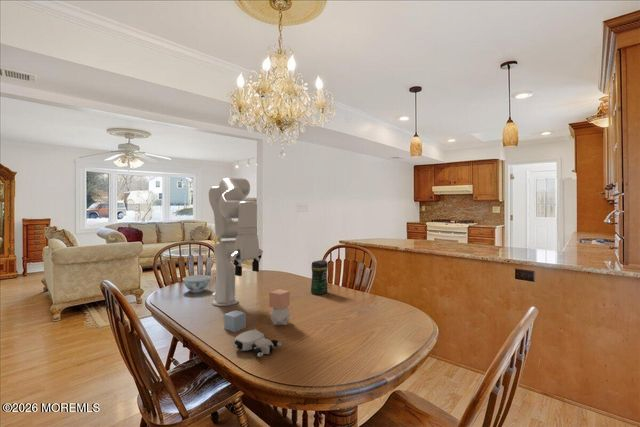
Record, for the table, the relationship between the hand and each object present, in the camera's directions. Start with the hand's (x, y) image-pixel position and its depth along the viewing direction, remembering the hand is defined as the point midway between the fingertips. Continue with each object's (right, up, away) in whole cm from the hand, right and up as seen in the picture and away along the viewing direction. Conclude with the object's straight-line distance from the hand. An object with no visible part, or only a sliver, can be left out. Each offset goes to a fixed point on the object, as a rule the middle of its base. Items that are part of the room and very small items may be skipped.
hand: (247, 273), depth 130 cm
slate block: (-5, -22, -1) cm, 23 cm away
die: (+13, -22, +4) cm, 26 cm away
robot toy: (+8, -23, -20) cm, 31 cm away
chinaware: (-42, -21, +54) cm, 71 cm away
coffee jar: (+29, -21, +52) cm, 63 cm away
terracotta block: (+13, -14, +4) cm, 20 cm away
